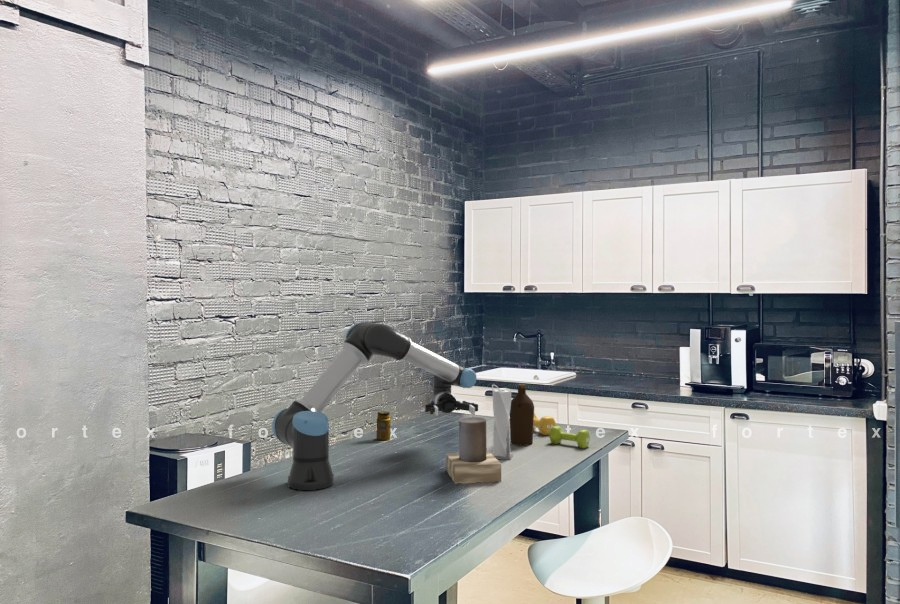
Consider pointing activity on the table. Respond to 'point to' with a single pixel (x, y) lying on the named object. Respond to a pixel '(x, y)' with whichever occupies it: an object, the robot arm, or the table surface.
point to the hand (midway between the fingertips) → (455, 411)
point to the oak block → (473, 469)
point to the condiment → (383, 427)
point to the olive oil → (521, 418)
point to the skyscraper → (501, 423)
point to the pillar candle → (472, 439)
